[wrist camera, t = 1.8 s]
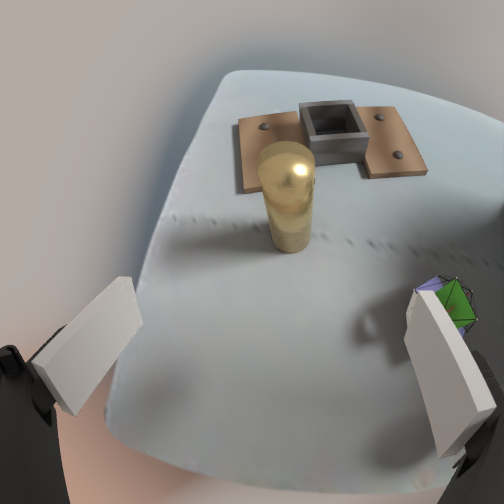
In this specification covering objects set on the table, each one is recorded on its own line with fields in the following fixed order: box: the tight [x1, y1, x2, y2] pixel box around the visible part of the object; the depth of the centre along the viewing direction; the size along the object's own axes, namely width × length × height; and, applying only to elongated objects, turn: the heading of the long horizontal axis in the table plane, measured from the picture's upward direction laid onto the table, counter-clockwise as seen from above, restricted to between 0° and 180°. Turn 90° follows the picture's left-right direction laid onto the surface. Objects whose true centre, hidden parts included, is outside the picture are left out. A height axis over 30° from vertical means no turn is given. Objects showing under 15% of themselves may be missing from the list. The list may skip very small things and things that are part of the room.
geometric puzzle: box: [406, 275, 478, 338], centre depth 22 cm, size 7×7×8 cm
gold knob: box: [257, 141, 315, 253], centre depth 25 cm, size 4×4×12 cm
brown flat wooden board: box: [238, 100, 428, 194], centre depth 32 cm, size 23×12×4 cm, turn 95°
